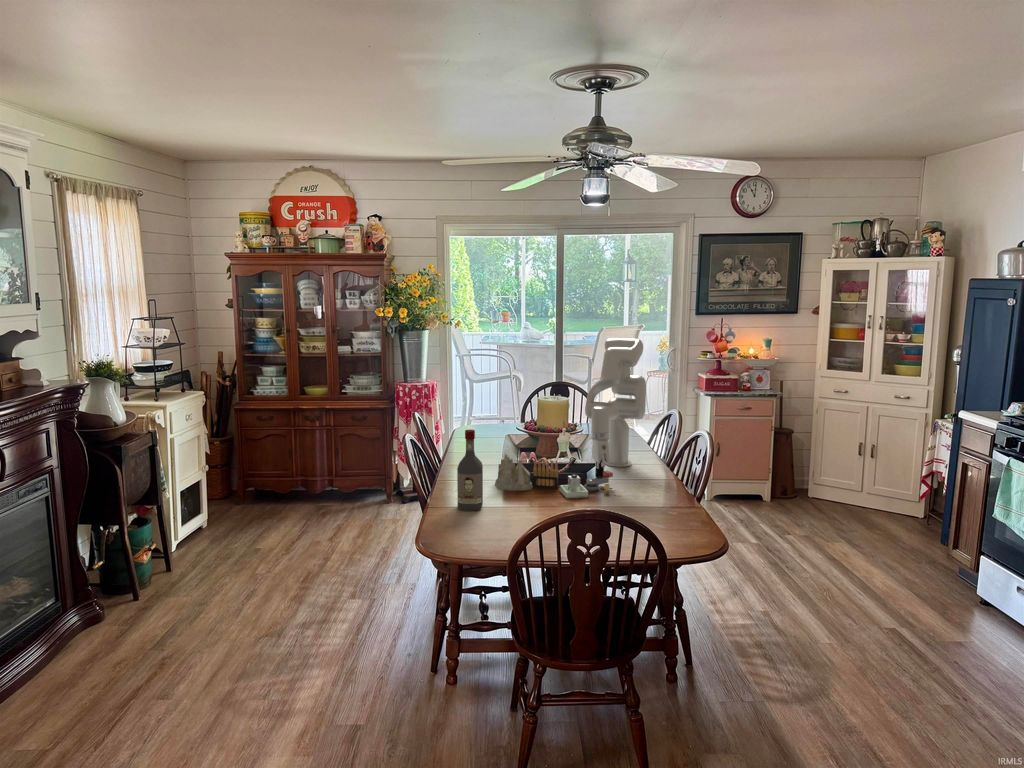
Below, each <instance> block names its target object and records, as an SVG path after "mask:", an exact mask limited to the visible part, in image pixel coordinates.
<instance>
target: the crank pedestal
mask: <svg viewBox="0 0 1024 768" xmlns="http://www.w3.org/2000/svg"><path fill="white" fill-rule="evenodd" d="M586 484H587V483H585V484H584V485H583V487H584V488H585V489H586V490H587V491H588V493H597V492H599V487H600V486H599V485H600V484H599V485H596V486H594V487H590V486H587V485H586ZM610 487H611V485H610V484H609V483H604V493H603V495H604V496H605V497H609V496H610ZM613 496H616V497H622V495H621V494H616V493H613Z"/></svg>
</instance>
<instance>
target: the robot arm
mask: <svg viewBox="0 0 1024 768" xmlns="http://www.w3.org/2000/svg"><path fill="white" fill-rule="evenodd" d="M604 349H605V351H604V353H603V362H602V367H601V374H600V378H599V380H598V381H596V382H595V383H594V384H593V385H592V386H591V387H590V389H589V390H588V392H587V396H586V400H585V405H584V407H585V408H584V415H585V416H586V417H587V418H589V419H591V423H590V424H591V425H590V426H591V430H590V431H591V434H590V437H591V439H590V440H592V444H591V456H592V457H591V458H592V459H593V460H594V462H595V473H594V475H595V478H596V477H601V476H603V471H605V467H606V466H609V467H615V468H626V467H630V466H632V460H630V459H629V446H630V444H629V443H630V425H629V423H628V422H627V420H628V419H629V420H642V419H644V417H645V415H646V405H647V403H646V402H647V401H646V399H647V398H646V397H647V383H646V382H647V381H646V378H644V377H643V376H642V375H637V374H636V375H635V374H631V368H633V367H635V366H637V364H638V363H639V361H640V358H641V357H642V355H643V352H644V343H643V341H642V340H641V339H638V338H625V337H624V338H623V337H621V338H620V337H610V338H607V339H605V343H604ZM610 388H611V392H612V393H613V394H615V395H619V396H631V397H634V398H627V397H612V398H610V399H609V400H608V402H604V401H595V398H597V396H598V394H600V393H601V392H603V391H605V390H607V389H610ZM625 419H627V420H625Z"/></svg>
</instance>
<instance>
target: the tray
mask: <svg viewBox="0 0 1024 768" xmlns="http://www.w3.org/2000/svg"><path fill="white" fill-rule="evenodd" d="M559 492H560V493H561V494H562V495H563V497H565V499H578V498H579V499H581V497H583V498H589V492H588V491H587V490H586V489H585V488H584V485H582V484H581V483H580V491H579V492H568V484H561V485H559Z"/></svg>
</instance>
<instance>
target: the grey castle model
mask: <svg viewBox="0 0 1024 768" xmlns="http://www.w3.org/2000/svg"><path fill="white" fill-rule="evenodd" d="M503 458H504V459H502V458H501V460H500V463H498V472H497V478H496V480H495V483H494V485H495V487H496V488H497V489H499V490H501V491H502V490H503V491H515V492H516V491H525V492H526V491H530V490H532V489H533V481H531V478H530V477H531V473H530V471H529V470H528V469H527V468H526V467H525V466H524V465H523V460H522V459H520V458H519V459H518V460H517V464H516V463H514V462H513V458H510V456H508V454H507V453H505V454H504V457H503Z"/></svg>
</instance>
